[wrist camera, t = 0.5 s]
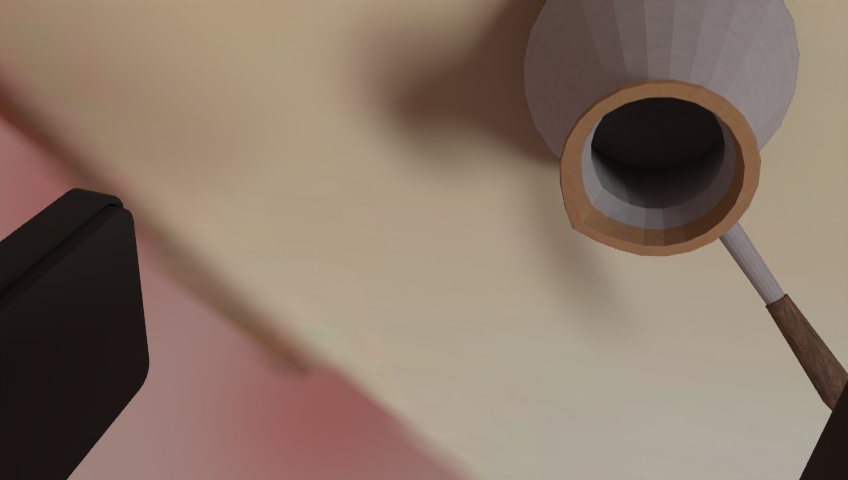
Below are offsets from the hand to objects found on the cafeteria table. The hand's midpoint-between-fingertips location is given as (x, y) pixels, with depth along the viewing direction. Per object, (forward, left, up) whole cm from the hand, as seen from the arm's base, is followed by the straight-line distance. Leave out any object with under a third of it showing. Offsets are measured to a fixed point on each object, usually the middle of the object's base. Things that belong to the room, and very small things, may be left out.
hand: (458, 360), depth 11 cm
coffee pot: (+7, +9, -30) cm, 32 cm away
